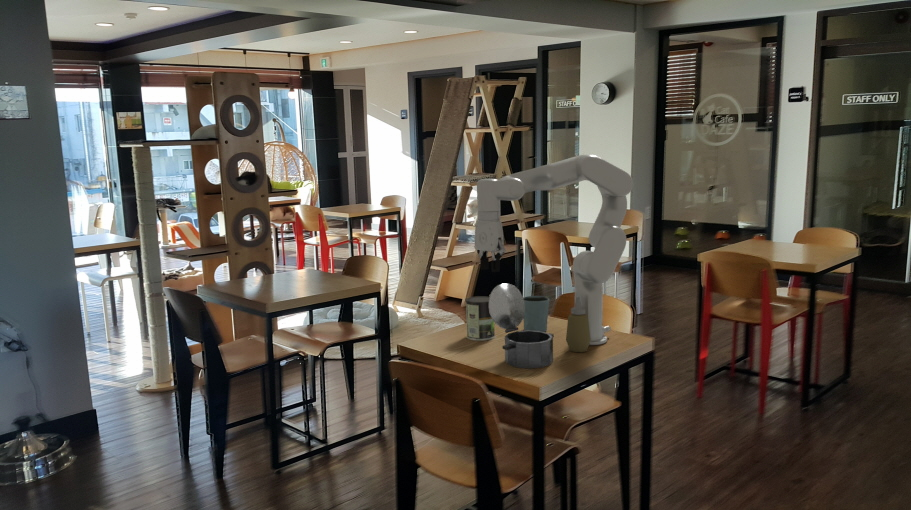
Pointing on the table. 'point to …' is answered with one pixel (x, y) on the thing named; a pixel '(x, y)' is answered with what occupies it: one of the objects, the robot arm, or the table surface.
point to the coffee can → (479, 319)
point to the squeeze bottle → (578, 329)
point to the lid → (506, 307)
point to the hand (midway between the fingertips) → (490, 270)
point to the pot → (528, 349)
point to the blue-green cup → (536, 313)
